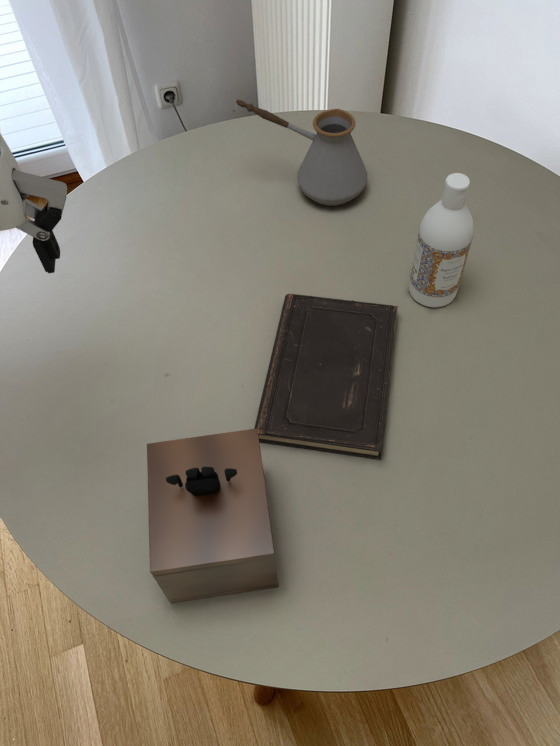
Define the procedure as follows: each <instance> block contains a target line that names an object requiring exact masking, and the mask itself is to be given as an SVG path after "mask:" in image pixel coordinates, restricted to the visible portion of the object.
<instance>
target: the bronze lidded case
mask: <svg viewBox="0 0 560 746" xmlns="http://www.w3.org/2000/svg"><path fill="white" fill-rule="evenodd" d="M260 443H261V442H259V436H258V429H257V428H256V429H254V428H250V429H242V430H235V431H229V432H228V431H227V432H221V433H213V434H207V435H201V436H199V435H198V436H192V437H185V438H177V439H171V440H164V441H157V442H150V443H146V463H147V468H146V469H147V501H148V502H147V504H148V505H147V506H148V538H149V539H148V541H149V572H150V575H152V577H153V579H154V580H155V582H156V584H157V585H158V586H159V588H160V589H161V591H162V593H163V594H164V595H165V598H166V599H167V600H168V602H169V603H170V604H173V603H181V602H187V601H195V600H200V599H201V600H202V599H206V598H207V599H208V598H214V597H221V596H227V595H234V594H241V593H247V592H253V591H254V592H255V591H260V590H266V589H274V588H279V577H278V570H277V568H278V567H277V562H276V553H275V546H274V539H273V531H272V525H271V524H272V523H271V517H270V509H269V502H268V494H267V487H266V481H265V472H264V465H263V459H262V458H263V457H262V453H261V452H262V451H261V444H260ZM202 467H213V468H214V471H215V472H216V473H217V474H218V478H219V481H220V490H219V491H218V492H217V493H216V494H209V495H201V496H194V495H192V494H191V493H189V492H188V491H187V490H186V488H185V483H186V478H187V475H186V473H185V472H186V470H188V469H192V468H198V469H199V470H200V472H202V471H201V468H202ZM227 468H232V469H237V474H236V475H235V476H234V477H232V478H230V479H231V480H230V481H229V482H228V481H227V480H226V476H225V472H224V471H225V469H227ZM172 475H179V476H180V478H181V481H182V483H183V486H182V487H179V485H178V483H177V484H176V485H172V484H169V483H167V482H166V478H167V477H169V476H172Z"/></svg>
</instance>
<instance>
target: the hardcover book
mask: <svg viewBox="0 0 560 746" xmlns="http://www.w3.org/2000/svg"><path fill="white" fill-rule="evenodd" d="M398 307H399V305H392V304H383V303H375V302H366V301H358V300H349V299H341V298H340V299H339V298H332V297H324V296H323V297H322V296H315V295H305V294H297V293H287V294H285V296H284V300H283V304H282V308H281V312H280V316H279V321H278V325H277V328H276V329H277V330H276V333H275V338H274V342H273V346H272V351H271V355H270V360H269V364H268V368H267V372H266V377H265V381H264V385H263V388H262V393H261V397H260V402H259V406H258V410H257V415H256V419H255V423H254V427H253V429H256V428H257V429H258V436H259V443H263V444H272V445H279V446H286V447H291V448H292V447H293V448H297V449H298V448H299V449H306V450H311V451H312V450H313V451H319V452H326V453H333V454H341V455H345V456H346V455H347V456H354V457H361V458H367V459H373V460H382V453H383V449H384V440H385V431H386V421H387V412H388V403H389V392H390V385H391V384H390V383H391V373H392V364H393V355H394V345H395V336H396V335H395V334H396V325H397V318H398V317H397V315H398Z"/></svg>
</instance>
